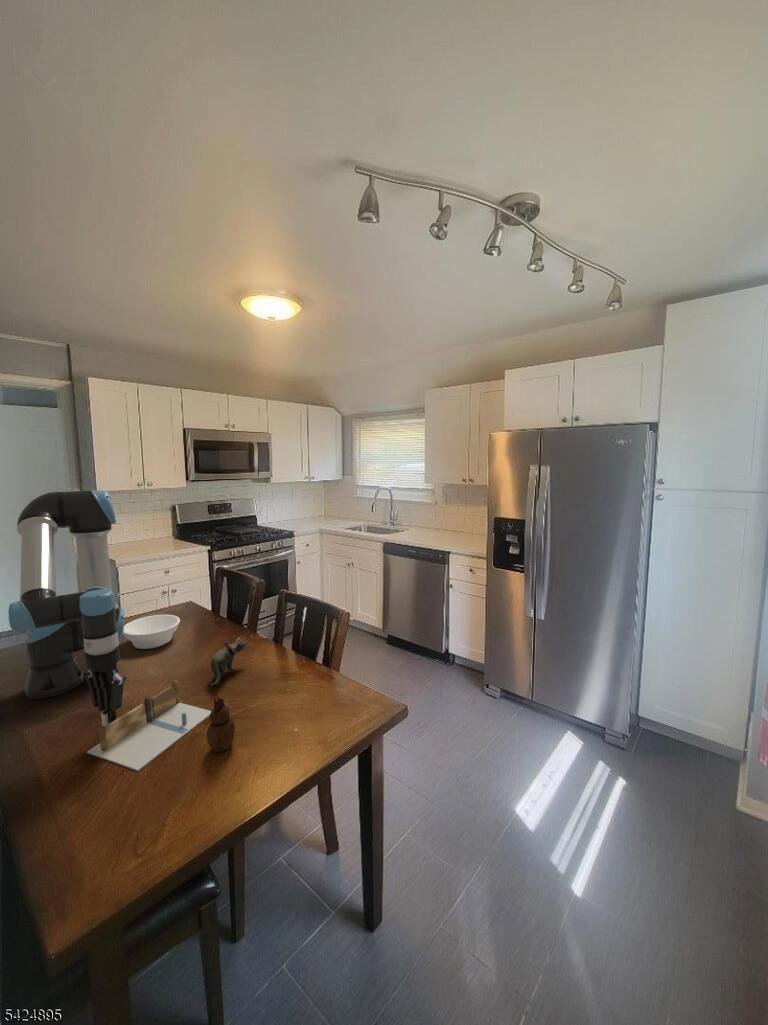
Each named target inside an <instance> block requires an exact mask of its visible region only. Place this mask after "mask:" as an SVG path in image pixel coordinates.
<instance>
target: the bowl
mask: <svg viewBox="0 0 768 1025" xmlns="http://www.w3.org/2000/svg"><path fill="white" fill-rule="evenodd" d="M180 622H181V619H180V617H179V616H177V615H173V614H154V615H149V616H143V617H140V618H137V619H135V620H132V621H129V622H127V623H126V624H124V631H123V636H124V637H125V638H126V639H127V640H128V641H131V643H132V645H133V647H134V648H136V649H140V650H141V649H142V650H145V649H146V650H148V649H154V648H158V647H160V646H164V645H165V644H166V645H167V644H168V643H170V641H171V640H172V638H173V635H174V633H175V632H176V631H177V629H178V628H179V624H180Z"/></svg>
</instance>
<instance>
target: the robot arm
mask: <svg viewBox="0 0 768 1025" xmlns="http://www.w3.org/2000/svg"><path fill="white" fill-rule="evenodd" d="M116 523H117V519H116V514H115V511H114V506H113V502H112V499H111V496H110V494H109V493H108V491H107V490H100V489H99V490H95V489H90V490H73V491H51V492H47V493H43V494H40V495H39V496H37V497H36V498H34V499H32V500H31V501H30V502H29V503H28V504H27V505H26V506H25V507H24V508H23V509H22V511H21V512H20V514H19V517H18V519H17V523H16V525H17V528H16V529H17V530H16V531H17V533H18V534H19V536H20V538H21V540H20V542H21V543H20V544H21V548H20V587H19V590H20V591H19V592H20V593H19V598H20V600H18V601H15V602H11V603H10V604H9V606H8V611H7V612H8V615H7V616H8V623H9V626H10V629H11V630H12V631H13V632H22V631H25V643H26V647H27V649H26V650H27V656H28V665H29V673H28V675H27V680H26V684H25V685H24V694H25V696H26V697H27V698H29V699H32V700H41V699H49V698H52V697H57V696H60V695H62V694H66V693H68V692H70V691H72V690H74V689H76V688H77V687H78V686H79V685H81V684H82V682H83V681H84V678H85V680H86V682H87V686H88V690H89V695H90V697H91V701H92V702H91V703H92V705H93V707H94V708H97V709H98V711H99V712H100V720H101V727H102V726H106V725H108V724H110V723H111V722H113V721H115V720H116V719H117V714H116V713H117V712H116V711H117V710H118V709H120V708H122V702H123V696H124V695H123V694H124V684H125V683H126V682H125V681H126V679H127V677H126V676H125V675H122V676H121V675H119V668H118V666H117V665H118V662H120V659H121V655H120V647H119V644H120V643H119V642H121V641H122V639H123V636H124V634H123V631H124V625H125V611H124V609H123V608H121V607H120V608H119V604H118V603H117V602H116V599H115V593H114V591H113V589H112V587H113V586H112V579H111V578H112V577H111V576H112V575H111V566H110V555H109V553H110V552H109V545H108V543H109V542H108V534H109V533H110V532H111V531H112V529H113V528H112V525H115V524H116ZM65 528H68V530H69V534H70V535H72V536H73V537H75V540H76V541H75V542H76V552H77V553H76V554H77V563H78V573H79V583H80V592H72V593H68V594H60V595H57V579H56V578H57V575H56V573H57V572H56V552H55V551H56V550H55V547H56V546H55V535H56V534H57V532H58V530H59V529H65ZM83 651H84V652H85V653H84V660H85V661H84V662H85V663H84V664H85V667H86V668H87V669H88V670H87V671H85V672H84V673H83V672H82V669H81V668H80V666H79V664H78V662H77V661H76V659H75V653H78V652H83Z"/></svg>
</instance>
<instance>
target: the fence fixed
mask: <svg viewBox="0 0 768 1025" xmlns="http://www.w3.org/2000/svg"><path fill="white" fill-rule="evenodd" d="M179 691H180V690H179V681H178V679H173V680H172V681H171V685H170V686H168V687H166V688H165V689H163V690H162V691H160V692H159V693H157V694H155V695H153V696H152V697H151V696H150V695H149V696H145V697H144V698H143V700H144V706H145V714H146V722H147V723H149V722H151V721H152V717H153V718H156V717H157V716H159V715H160V714H162V713H163V712H165V711H166V710H168V709H169V708H171V707H172V706H174V705H175V704H177V703H179V702H180V692H179Z"/></svg>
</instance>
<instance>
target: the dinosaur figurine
mask: <svg viewBox="0 0 768 1025" xmlns="http://www.w3.org/2000/svg"><path fill="white" fill-rule="evenodd" d="M243 636H244V635H243V634H242V635H241V636H240V637H238V638H237V639H236V640H235V642H234V643H232V644H230V643H229V642H227V641H224V642H223V643H224V646H225V647H226V648H222V649H220V650H218V651H216V652H215V654H214V655H213V656H212V658H211V661H210V668H211V671H212V673H213V676H214V677H213V678H212V680H214V682H213V683H212V682H211V683H210V684H209V686H215V685H217V686H222V683H221V682H220V681H221V679H222V676H223V675H224V674H225V673H226V670H228V671H229V674H234V673H235V672H236V671H237V669H236V668H233V667H232V665H233V661H234V659H235V658H234V657H235V655H237V654H239V653H240V652H242V651H243V650H245V649H246V648H247V643H246V641H245V639H246V636H244V637H243ZM242 637H243V639H241V638H242Z"/></svg>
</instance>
